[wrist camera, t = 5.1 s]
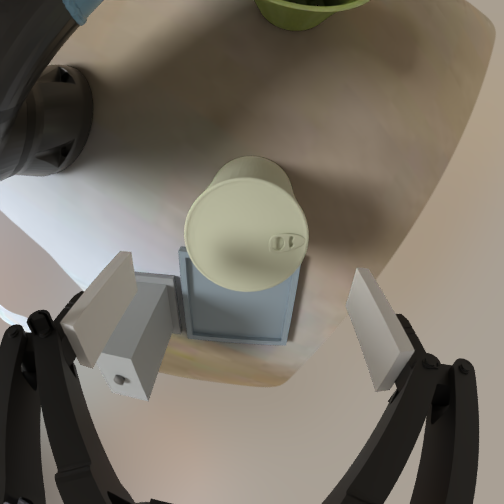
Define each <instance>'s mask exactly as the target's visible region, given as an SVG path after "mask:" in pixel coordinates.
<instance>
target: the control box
mask: <svg viewBox="0 0 504 504" xmlns="http://www.w3.org/2000/svg"><path fill="white" fill-rule="evenodd" d="M134 273H135V278H136V284H137V289H138V291H137V293H136V294H135V296H134V298H133V299H132V301H131V302H130V304H129V306H128V307H127V309H126V311H125V312H124V314H123V316H122V317H121V319H120V321H119V322H118V324H117V326H116V328H115V329H114V331H113V333H112V334H111V336H110V338H109V340H108V341H107V343H106V345H105V347H104V349H103V350H102V352H101V354H100V356H99V358H98V360H97V362H96V363H97V365H98V367H99V369H100V371H101V373H102V375H103V377H104V379H105V381H106V382H107V384H108V386H109V388H110V389H111V391H112V392H113V393H117V394H120V395H125V396H129V397H132V398H137V399H141V400H146V401H149V398H150V395H151V392H152V389H153V386H154V383H155V380H156V377H157V374H158V371H159V368H160V365H161V362H162V359H163V356H164V353H165V351H166V348H167V345H168V342H169V339H170V337H171V334H172V333H175V334H181V331H182V329H181V323H180V316H179V308H178V301H177V292H176V284H175V276H173V275H162V274H151V273H140V272H134Z"/></svg>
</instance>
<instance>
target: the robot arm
mask: <svg viewBox="0 0 504 504" xmlns="http://www.w3.org/2000/svg"><path fill="white" fill-rule="evenodd" d="M102 1H103V0H0V181H2V180H4V179H6V178H8V177H11V176H13V175H26V176H48V175H51V174H54V173H56V172H59V171H61V170H63V169H65V168H67V167H68V166H69V165H70V164H72V163H73V162H74V160H75V159H76V158H77V157H78V155H79V154H80V152H81V151H82V149H83V147H84V145H85V143H86V140H87V138H88V135H89V131H90V127H91V122H92V114H93V102H92V94H91V90H90V87H89V84H88V82H87V80H86V78H85V77H84V76H83V74H82V73H81V72H80V71H78V70H77V69H75V68H73V67H70V66H64V65H50V66H47V65H48V64H49V63H50V61H51V60H52V59H53V57H54V56H55V55H56V53H57V52H58V51H59V50H60V48H61V47H62V46H63V45H64V43H65V42H66V41H67V40H68V39H69V37H70V36H71V35H72V34H73V33H74V32H75V31H76V29H77V28H78V27H79V26H82V25H84V24H85V23H86V21H87V17H88V16H89V15H90V14H91V13H92V12H93V11H94V10H95V9H96V8H97V7H98V6H99V5H100V4H101V2H102ZM137 291H138V289H137V284H136V278H135V273H134V267H133V261H132V255H131V252H124V251H120V252H119V253H118V254H117V255H116V256H115V257H114V258H113V259H112V261H111V262H110V263H109V264H108V265H107V266H106V267H105V268H104V270H103V271H102V272H101V273H100V274H99V275H98V276H97V278H96V279H95V280H94V281H93V282H92V283H91V285H90V286H89V287H88V288H87V289H86V291H85V292H84V291H81V292H80V293H78V294H76V295H75V296H74V297H73V298H72V299H71V300H70V301H69V303H68V304H67V305H66V306H65V308H64V309H63V310H62V311H61V312H60V314H59V315H58V316H57V318H56V319H55V320H54V321H53V320H52V318H51V316H50V313H49V312H48V311H47V310H38V311H36V312H34V313H32V314H31V315H30V316H29V318H28V320H27V324H28V326H29V328H30V330H31V332H32V333H25V331H24V329H23V327H22V326H21V325H17V324H16V325H12V326H11V327H9V328H8V329H7V330H6V331H5V333H4V336H3V339H2V342H1V345H0V504H46V500H45V490H44V483H43V475H42V463H41V448H40V447H41V446H40V412H41V407H42V412H43V417H44V422H45V426H46V430H47V434H48V438H49V442H50V446H51V449H52V452H53V456H54V459H55V462H56V465H57V469H58V473H56V474H55V481H56V485H57V487H58V490H59V493H60V495H61V498H62V500H63V502H64V504H171V503H167V502H163V501H158V500H155V499H151V500H150V502H140V503H135V502H134V500H133V499H132V498H131V496H130V494H129V493H128V492H127V490H126V489H125V488H124V487H123V486H122V484H121V483H120V481H119V479H118V477H117V476H116V474H115V472H114V470H113V468H112V466H111V464H110V462H109V460H108V457H107V455H106V453H105V451H104V448H103V446H102V444H101V442H100V439H99V437H98V434H97V432H96V429H95V427H94V424H93V422H92V419H91V416H90V413H89V410H88V407H87V404H86V401H85V398H84V395H83V392H82V389H81V385H80V381H79V378H78V374H77V370H76V367H75V365H74V363H73V361H74V360H75V358H76V357H77V359H78V361H79V363H80V364H81V365H83V366H86V367H90V368H93V367H94V365H95V363H96V362H97V360H98V358H99V356H100V354H101V352H102V350H103V349H104V347H105V345H106V343H107V341H108V340H109V338H110V336H111V334H112V333H113V331H114V329H115V328H116V326H117V324H118V322H119V321H120V319H121V317H122V316H123V314H124V312H125V311H126V309H127V307H128V306H129V304H130V302H131V301H132V299H133V298H134V296H135V294H136V293H137ZM346 308H347V310H348V313H349V316H350V318H351V321H352V324H353V326H354V329H355V332H356V335H357V338H358V340H359V343H360V346H361V349H362V352H363V355H364V358H365V361H366V364H367V367H368V370H369V373H370V375H371V378H372V382H373V385H374V388H375V391H376V392H378V391H386V390H390V388H391V387H392V385H393V384H394V383H395V384H396V387H397V389H396V391H395V392H394V394H393V395H392V396H391V398H390V399H389V400H388V402H389V404H388V406H387V408H386V410H385V412H384V413H383V415H382V417H381V419H380V421H379V422H378V424H377V426H376V428H375V430H374V431H373V433H372V434H371V436H370V438H369V439H368V441H367V443H366V444H365V446H364V447H363V449H362V450H361V452H360V453H359V455H358V456H357V458H356V459H355V461H354V462H353V464H352V465H351V467H350V468H349V469H348V471H347V472H346V474H345V475H344V476H343V478H342V479H341V480H340V482H339V483H338V484H337V486H336V487H335V488H334V489H333V491H332V492H331V493H330V494H329V496H328V497H327V498H326V499H325V500H324V501H323V503H322V504H384V502H385V500H386V499H387V497H388V495H389V494H390V492H391V490H392V489H393V487H394V485H395V483H396V482H397V480H398V478H399V476H400V474H401V472H402V470H403V468H404V466H405V464H406V462H407V460H408V458H409V456H410V454H411V452H412V450H413V447H414V445H415V443H416V440H417V438H418V436H419V433H420V431H421V429H422V426H423V423H424V421H425V418H426V426H425V434H424V441H423V447H422V453H421V459H420V464H419V469H418V473H417V478H416V482H415V486H414V490H413V494H412V497H411V501H410V504H473V499H474V493H475V486H476V479H477V478H476V477H477V469H478V454H479V411H478V396H477V386H476V377H475V370H474V367H473V366H472V364H471V363H470V362H469V361H467V360H465V359H457V360H456V361H455V362H454V364H453V365H445V364H441V363H440V361H439V360H438V358H437V357H435V356H434V355H432V354H429V353H426V352H425V350H424V348H423V346H422V344H421V342H420V341H419V339H418V337H417V335H416V334H415V331H414V330H413V329H412V326H411V325H410V323H409V321H408V320H407V319H406V318H405V317H404V316H403V315H402V314H395V313H394V311H393V309H392V307H391V305H390V304H389V302H388V300H387V299H386V297H385V295H384V293H383V292H382V290H381V288H380V287H379V285H378V283H377V282H376V280H375V278H374V277H373V275H372V273H371V272H370V270H369V269H368V268H356V272H355V275H354V279H353V283H352V286H351V289H350V293H349V296H348V299H347V303H346ZM426 416H427V417H426Z"/></svg>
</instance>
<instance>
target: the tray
mask: <svg viewBox="0 0 504 504" xmlns="http://www.w3.org/2000/svg"><path fill="white" fill-rule="evenodd" d="M178 253H179V265H180V276H181V286H182V296H183V305H184V313H185V321H186V329H187V336H188V338H189V339H198V340H208V341H219V342H231V343H245V344H262V345H286V343H287V338H288V333H289V327H290V322H291V317H292V312H293V306H294V301H295V295H296V289H297V283H298V278H299V271H300V266H299V267H298V269H297V270H296V271H295V272H294V273H293V274H292V275H291V276H290V277H289V278H288V279H286V280H285V281H283V282H282V283H280V284H278V285H276V286H274V287H272V288H269V289H265V290H261V291H255V292H241V291H234V290H230V289H227V288H224V287H221V286H219V285H217V284H215V283H213V282H212V281H210V280H209V279H207V278H206V277H205V276H204V275H203V274H202V273H201V272H200V271H199V270H198V269H197V268H196V267H195V265H194V264H193V262H192V261H191V259H190V257H189V255H188V252H187V249H186V247H181V248H180V249H179V251H178ZM300 265H301V264H300Z"/></svg>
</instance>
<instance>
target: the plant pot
mask: <svg viewBox="0 0 504 504" xmlns="http://www.w3.org/2000/svg"><path fill="white" fill-rule="evenodd" d="M254 1H255V2H256V4H257V6H258V8H259V10H260V12H261V13H262V15H263V16H264V17H265V18H266V19H267V20H268V21H269V22H270V23H272V24H273V25H275V26H277V27H279V28H282V29H286V30H291V31H302V30H307V29H311V28H313V27H315V26H317V25H318V24H320V23H321V22H323V21H324V20H325V19H327V18H328V17H330V16H331V15H332V14H334V13H335V12H338V11H345V10H350V9H353V8H356V7H359V6H361V5H363V4H365V3H367V2H369V1H370V0H254ZM291 2H295V3H291ZM317 4H318V5H319V6H316V5H317Z"/></svg>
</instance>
